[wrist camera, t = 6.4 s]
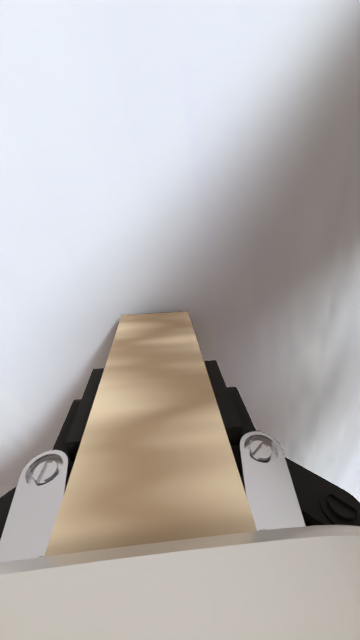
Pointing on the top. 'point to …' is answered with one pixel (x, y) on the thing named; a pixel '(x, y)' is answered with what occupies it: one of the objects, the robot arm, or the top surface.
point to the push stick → (152, 448)
